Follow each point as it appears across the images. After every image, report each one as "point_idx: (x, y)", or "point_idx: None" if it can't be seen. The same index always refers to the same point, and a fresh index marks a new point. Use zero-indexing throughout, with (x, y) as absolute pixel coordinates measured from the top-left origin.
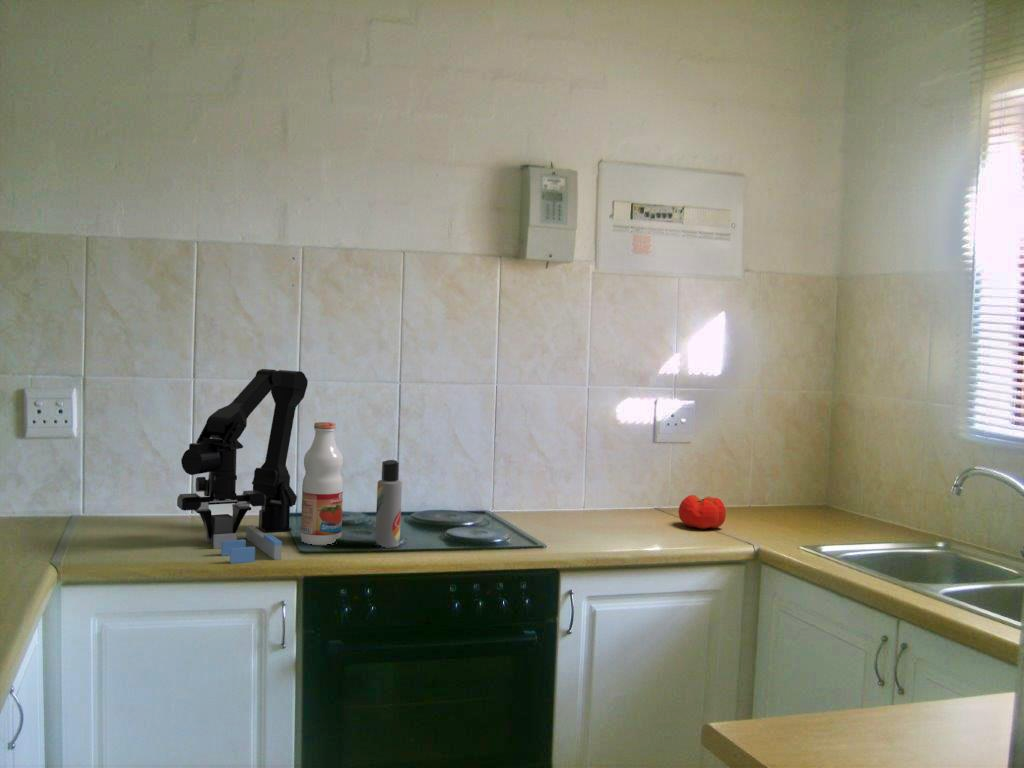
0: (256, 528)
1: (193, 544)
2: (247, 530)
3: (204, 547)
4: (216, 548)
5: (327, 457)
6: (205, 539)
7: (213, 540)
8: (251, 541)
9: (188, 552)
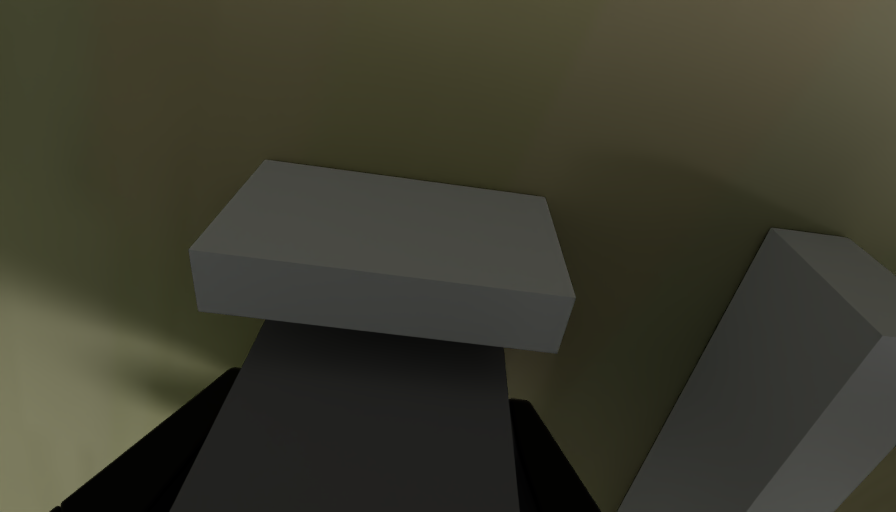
0: (827, 509)
1: (107, 240)
2: (794, 366)
3: (210, 381)
4: None
5: None
6: (257, 169)
7: None
8: (677, 415)
9: (61, 454)
